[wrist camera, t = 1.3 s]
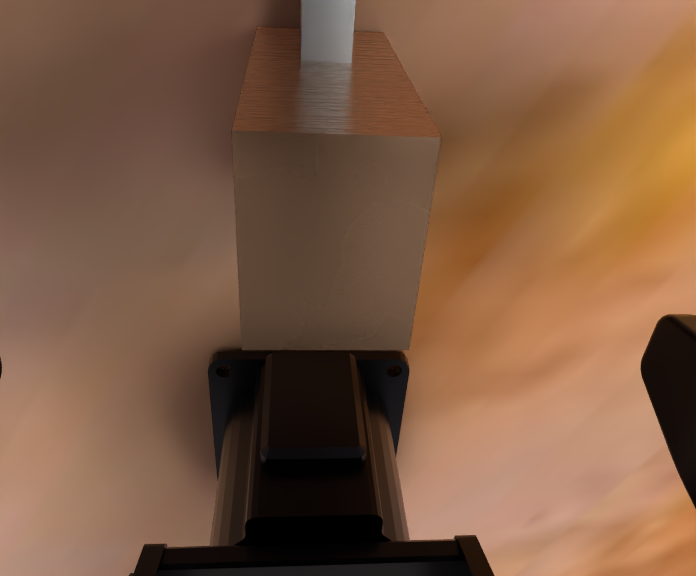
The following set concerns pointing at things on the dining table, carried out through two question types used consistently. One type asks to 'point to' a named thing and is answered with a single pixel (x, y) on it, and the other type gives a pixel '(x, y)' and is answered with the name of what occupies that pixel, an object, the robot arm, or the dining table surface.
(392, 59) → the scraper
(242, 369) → the robot arm
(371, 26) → the dining table surface
